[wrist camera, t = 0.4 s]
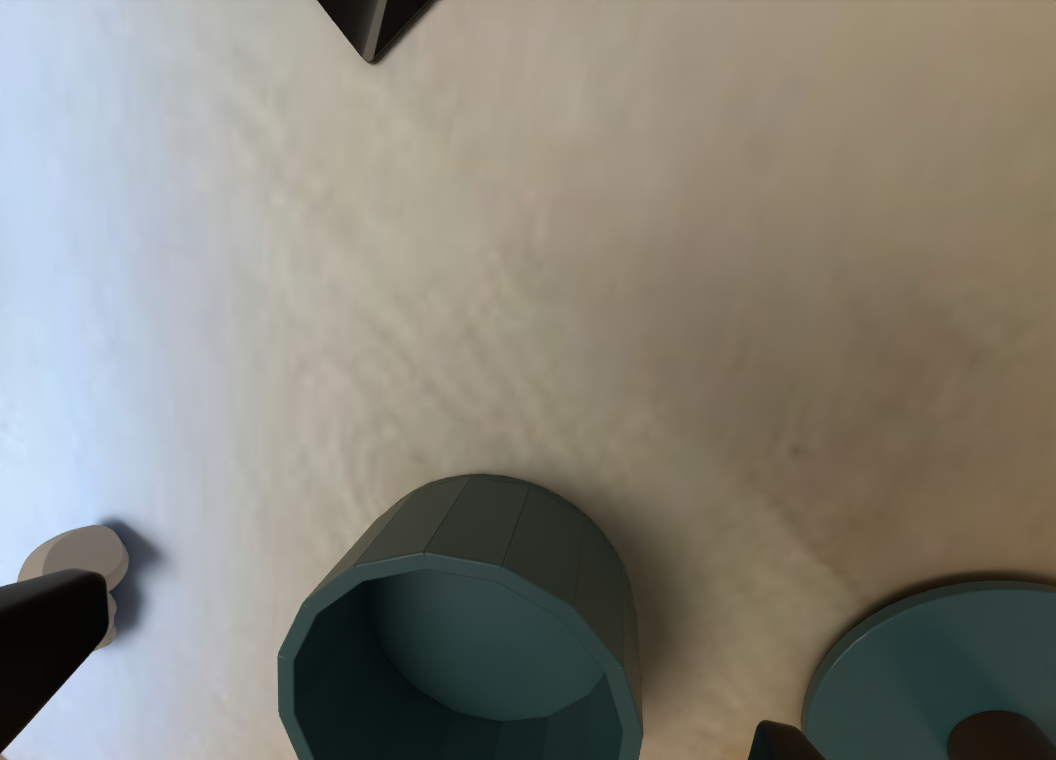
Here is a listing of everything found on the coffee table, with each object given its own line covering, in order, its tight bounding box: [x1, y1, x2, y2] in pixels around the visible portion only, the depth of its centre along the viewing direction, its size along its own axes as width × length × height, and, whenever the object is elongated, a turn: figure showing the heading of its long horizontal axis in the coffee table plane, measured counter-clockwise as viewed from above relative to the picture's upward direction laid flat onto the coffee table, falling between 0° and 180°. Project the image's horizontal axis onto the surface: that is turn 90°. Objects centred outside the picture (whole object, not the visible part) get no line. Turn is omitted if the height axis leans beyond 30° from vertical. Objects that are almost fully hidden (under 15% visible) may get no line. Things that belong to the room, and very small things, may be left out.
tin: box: [278, 474, 643, 760], centre depth 20 cm, size 12×12×6 cm
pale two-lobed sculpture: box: [17, 525, 129, 651], centre depth 25 cm, size 4×8×5 cm
